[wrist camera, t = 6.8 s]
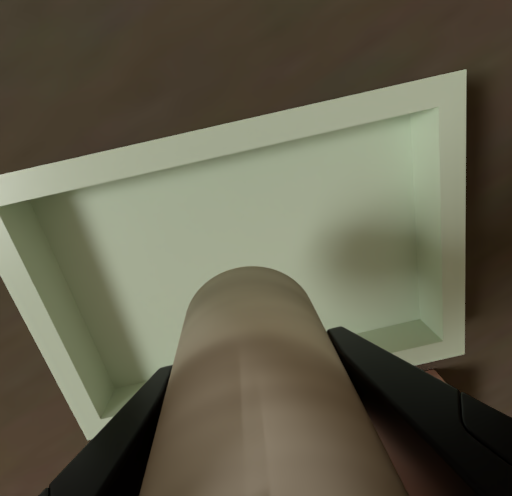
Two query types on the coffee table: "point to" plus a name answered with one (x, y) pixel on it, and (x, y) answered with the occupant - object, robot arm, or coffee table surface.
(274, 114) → the sage tray
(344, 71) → the coffee table surface
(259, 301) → the beige brown cylinder
